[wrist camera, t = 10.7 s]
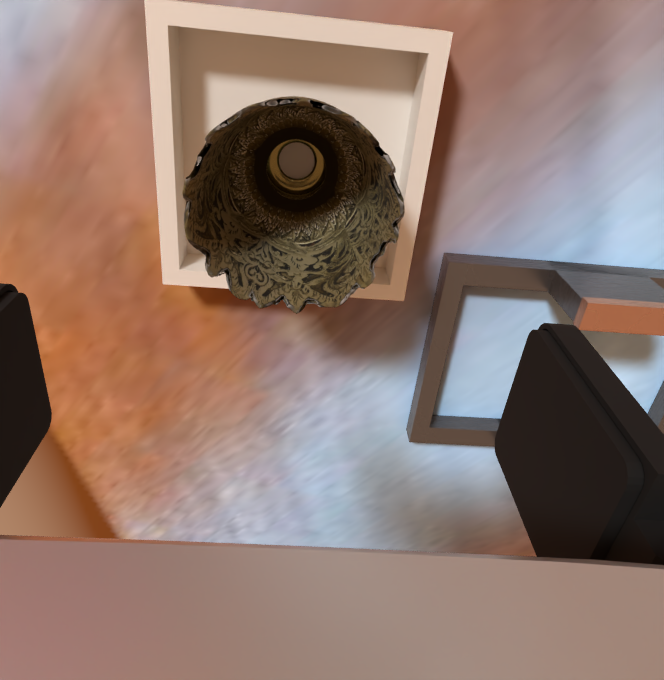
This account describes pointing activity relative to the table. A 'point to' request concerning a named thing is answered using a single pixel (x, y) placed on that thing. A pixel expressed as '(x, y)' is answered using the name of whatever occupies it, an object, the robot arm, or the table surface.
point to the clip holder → (555, 277)
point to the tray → (282, 81)
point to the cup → (292, 204)
